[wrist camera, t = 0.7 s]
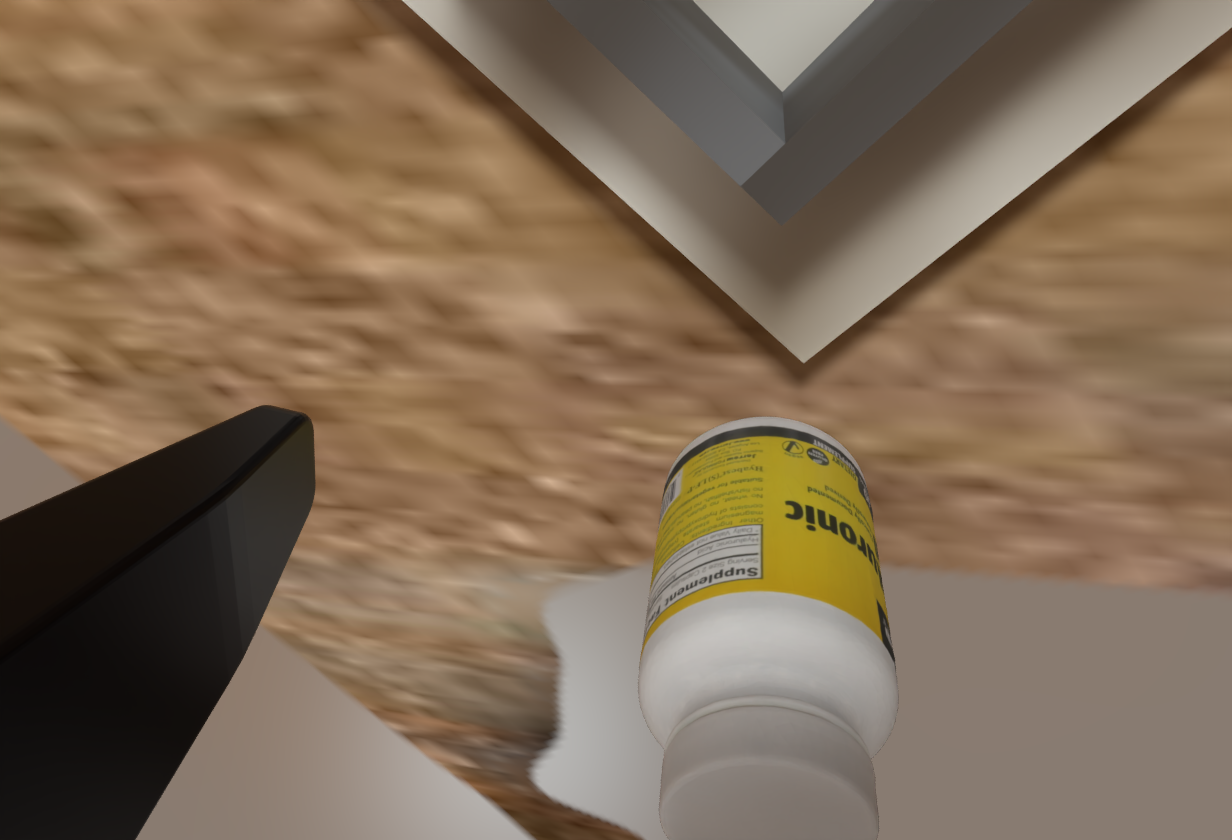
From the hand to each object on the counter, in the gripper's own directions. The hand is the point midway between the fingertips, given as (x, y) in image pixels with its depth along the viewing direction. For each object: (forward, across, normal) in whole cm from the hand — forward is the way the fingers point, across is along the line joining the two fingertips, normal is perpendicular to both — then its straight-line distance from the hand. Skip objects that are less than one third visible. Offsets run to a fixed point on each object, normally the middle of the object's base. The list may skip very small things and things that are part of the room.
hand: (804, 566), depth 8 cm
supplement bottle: (+14, -2, +10) cm, 17 cm away
